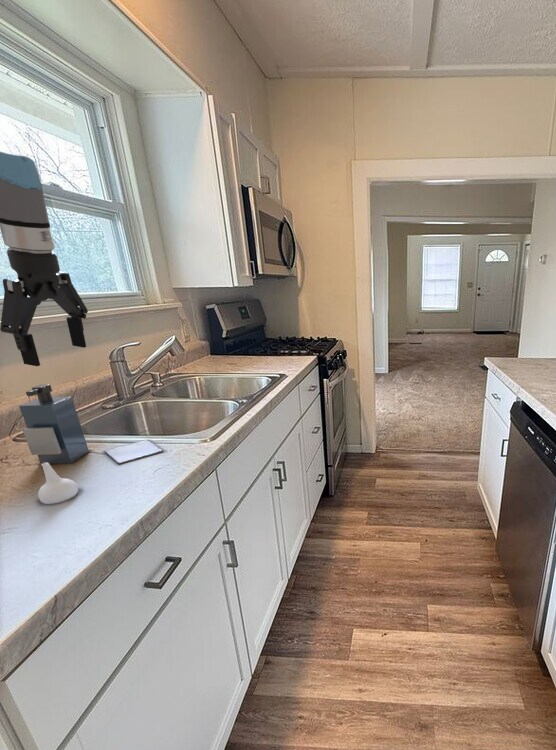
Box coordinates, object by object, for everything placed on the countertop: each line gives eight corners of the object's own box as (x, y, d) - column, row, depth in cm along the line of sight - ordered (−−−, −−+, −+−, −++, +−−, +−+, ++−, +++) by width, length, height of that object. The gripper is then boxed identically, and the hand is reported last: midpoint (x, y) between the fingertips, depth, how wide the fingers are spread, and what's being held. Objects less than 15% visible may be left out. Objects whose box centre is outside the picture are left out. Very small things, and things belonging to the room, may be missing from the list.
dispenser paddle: (58, 454, 92) (49, 428, 90) (31, 455, 92) (21, 429, 90) (61, 452, 93) (52, 426, 91) (34, 453, 93) (25, 427, 91)
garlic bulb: (71, 505, 79) (58, 468, 76) (34, 508, 78) (19, 472, 75) (85, 489, 85) (73, 455, 82) (51, 493, 83) (38, 458, 80)
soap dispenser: (70, 466, 95) (44, 390, 88) (39, 467, 95) (10, 390, 88) (89, 453, 102) (67, 381, 95) (61, 454, 102) (36, 382, 95)
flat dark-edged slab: (105, 454, 102) (104, 450, 101) (147, 443, 109) (146, 439, 108) (119, 466, 95) (118, 462, 95) (163, 454, 102) (163, 450, 101)
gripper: (-7, 258, 67) (28, 377, 78) (94, 248, 89) (111, 342, 99) (-53, 250, 67) (-12, 370, 77) (60, 242, 88) (80, 337, 99)
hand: (57, 355), depth 88 cm, fingers open, 13 cm apart
